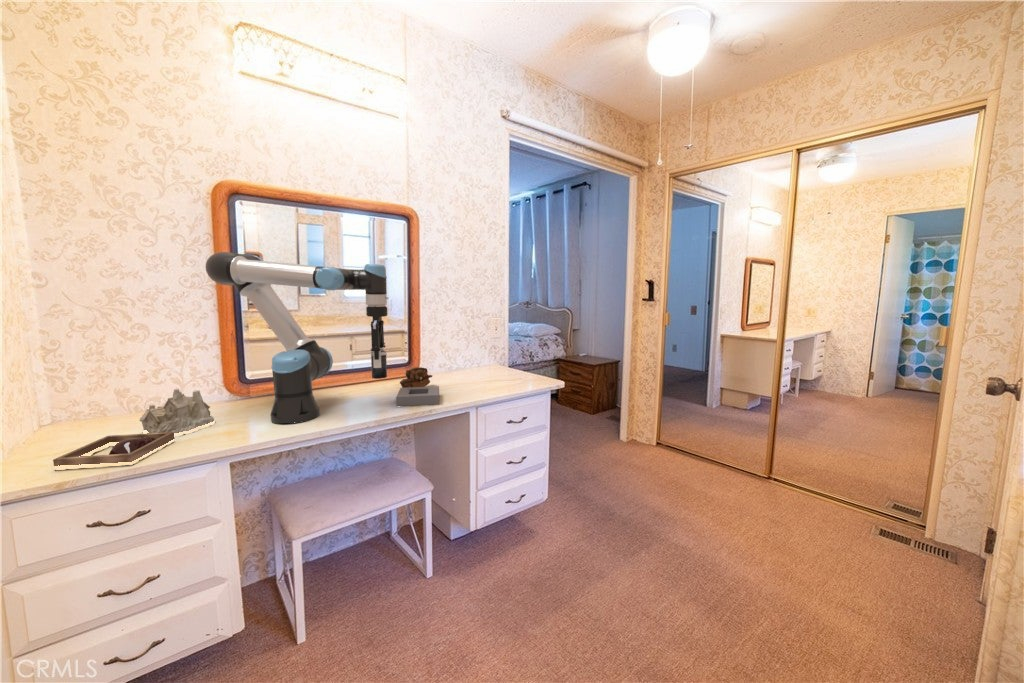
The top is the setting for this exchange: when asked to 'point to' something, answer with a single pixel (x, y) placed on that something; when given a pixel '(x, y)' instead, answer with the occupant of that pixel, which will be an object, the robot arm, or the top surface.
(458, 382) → the top surface
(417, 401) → the grey recessed frame block
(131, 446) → the heart ornament
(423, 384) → the wooden carving
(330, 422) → the top surface
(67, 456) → the frame
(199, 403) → the ceramic cottage
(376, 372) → the lens
